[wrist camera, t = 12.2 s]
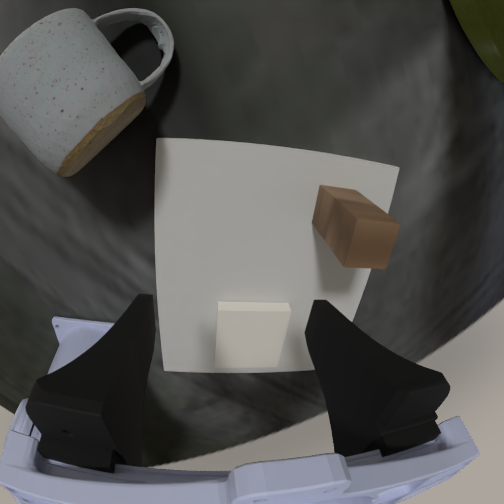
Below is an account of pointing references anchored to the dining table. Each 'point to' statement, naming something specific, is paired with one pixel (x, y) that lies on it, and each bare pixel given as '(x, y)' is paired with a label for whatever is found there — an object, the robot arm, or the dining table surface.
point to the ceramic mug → (74, 85)
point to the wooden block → (354, 228)
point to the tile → (250, 334)
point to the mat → (249, 241)
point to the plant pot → (484, 30)
